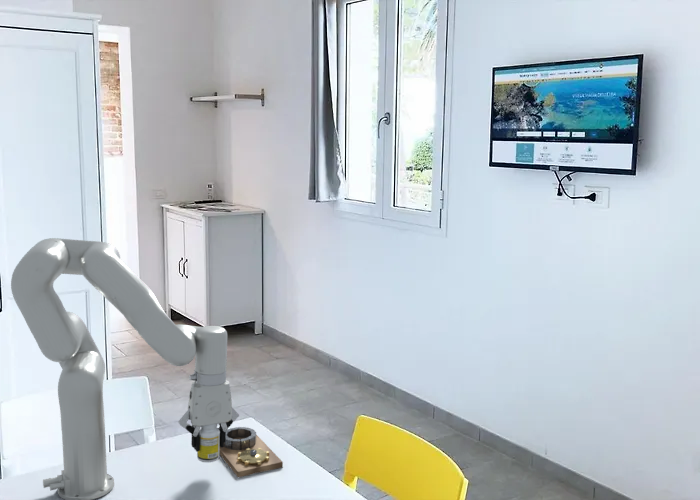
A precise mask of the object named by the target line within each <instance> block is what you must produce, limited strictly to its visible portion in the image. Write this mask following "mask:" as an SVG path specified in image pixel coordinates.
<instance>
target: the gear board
mask: <svg viewBox="0 0 700 500" xmlns="http://www.w3.org/2000/svg"><path fill="white" fill-rule="evenodd" d="M233 439H244V438H240V437H238V438H233ZM258 448H262V450H263V451H265V452H266V451H268V452H269V461H268V462H266V461H265V462H263V463H261V465H259V466H258V465H249V466H245V464H244V463H242V462H240V463H238V462H237V458H238V453H239V452H243V451H245V450H246V449H244V450H231V449H227V448H225V447H222V448H221V447H220V451H219V456H220V457H221V458H222V459H223V461H224V462H225V463H226V465H227V466H228V467H229V468H230V470H231V471H232V472H233V474H235V476H236V478H242V477H246V476H251V475H255V474H256V475H257V474H258V473H263V472H268V471H272V470H276V469H281V468H283V467H284V466H283V463H284V462H283V461H282V460H281V458H279V456H278V455H276V453H275V452H274V451H273V450H272V449H271V448H270V446H268V445H267V444H266V443H265V442H264V441H263V440H262V439H261V438H260V436H258V435H257V434H256V444H255V445H254V446H253V447H251V448H250V449H258Z"/></svg>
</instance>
